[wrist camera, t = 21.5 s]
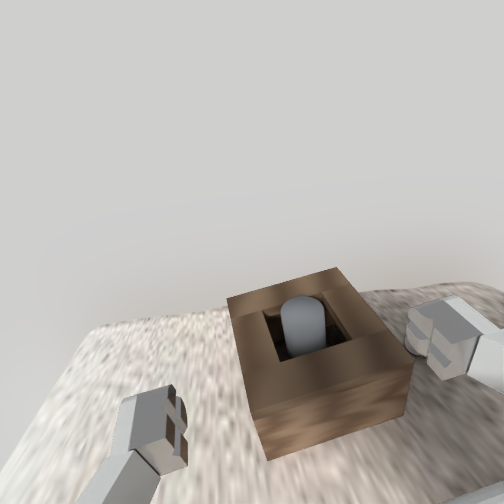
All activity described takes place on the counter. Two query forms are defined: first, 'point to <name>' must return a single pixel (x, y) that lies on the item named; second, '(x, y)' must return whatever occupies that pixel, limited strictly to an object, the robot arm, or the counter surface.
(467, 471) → the counter surface
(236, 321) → the walnut drop box
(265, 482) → the counter surface
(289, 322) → the grey rubber peg
